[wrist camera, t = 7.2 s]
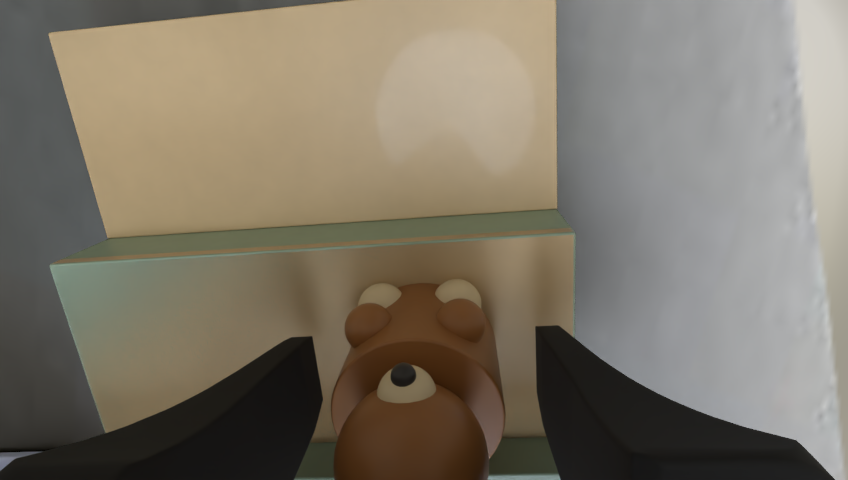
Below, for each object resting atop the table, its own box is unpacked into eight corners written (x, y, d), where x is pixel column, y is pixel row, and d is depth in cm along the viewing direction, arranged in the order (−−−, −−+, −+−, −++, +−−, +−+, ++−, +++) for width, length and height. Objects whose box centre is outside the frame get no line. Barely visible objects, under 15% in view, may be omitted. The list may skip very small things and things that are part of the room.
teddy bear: (366, 407, 15) (302, 627, 9) (348, 275, 14) (258, 428, 8) (498, 402, 14) (526, 630, 8) (492, 267, 13) (520, 421, 7)
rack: (192, 376, 21) (80, 497, 15) (104, 40, 17) (-100, 13, 11) (546, 363, 20) (587, 490, 13) (541, -6, 16) (596, -67, 9)
